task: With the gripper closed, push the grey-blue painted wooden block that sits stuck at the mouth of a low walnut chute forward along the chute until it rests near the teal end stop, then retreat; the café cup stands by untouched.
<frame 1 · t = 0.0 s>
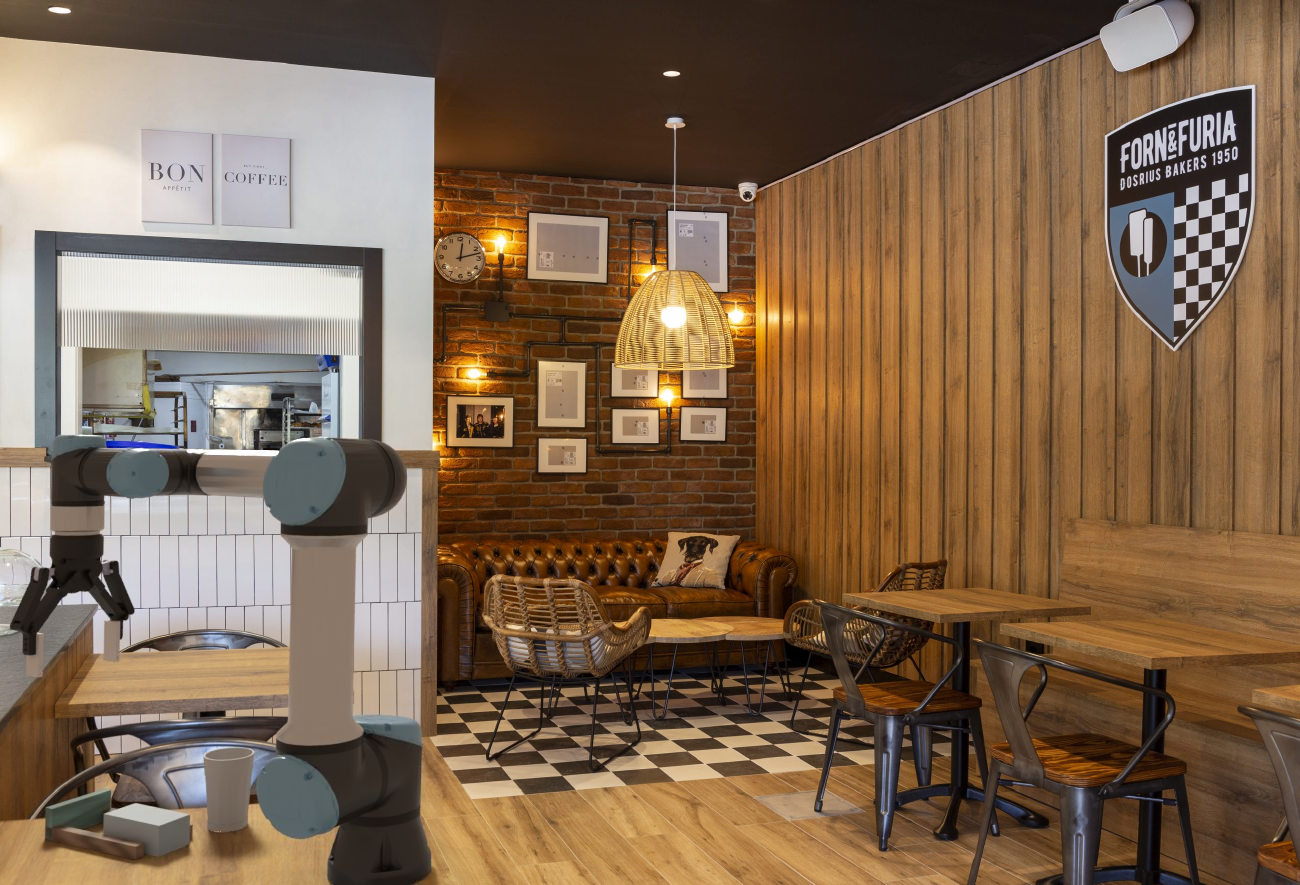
hand: (74, 668, 171), 28 cm above the table, fingers open, 13 cm apart
chute: (119, 838, 175), on the table
block: (146, 845, 173), on the table
cup: (227, 827, 182), on the table
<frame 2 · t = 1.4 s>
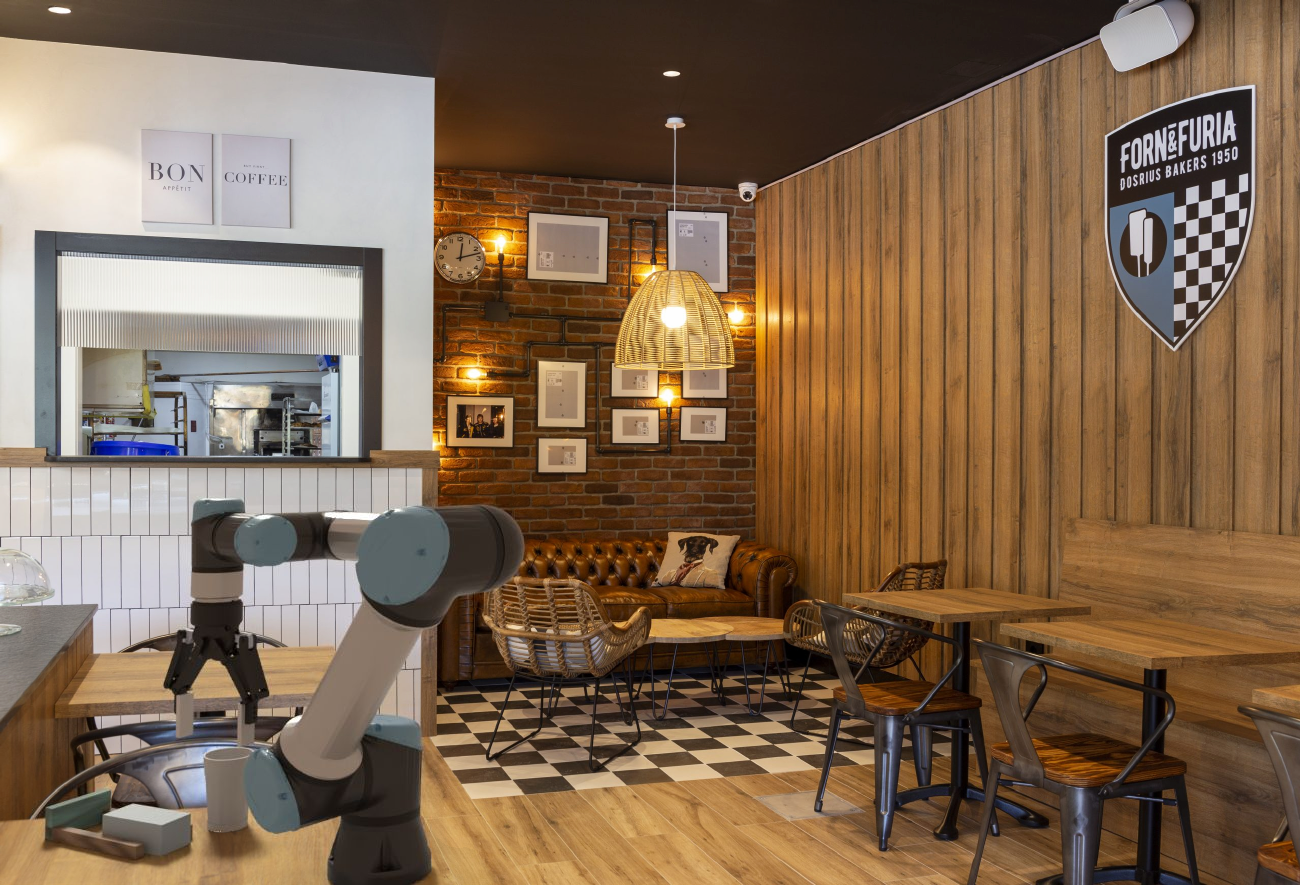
hand: (214, 740, 167), 18 cm above the table, fingers open, 12 cm apart
nothing on the table moved.
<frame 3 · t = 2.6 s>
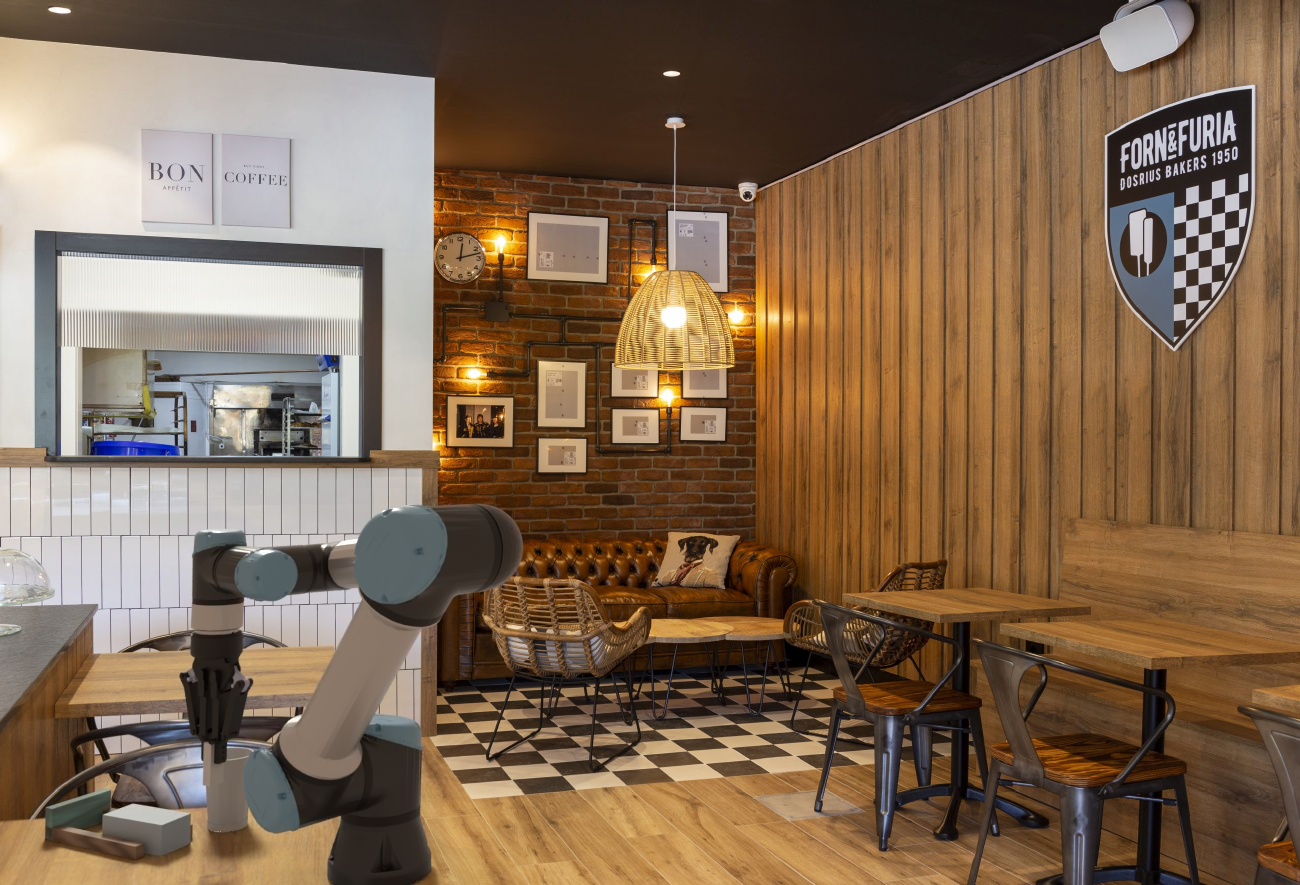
hand: (213, 783, 168), 11 cm above the table, fingers closed
nothing on the table moved.
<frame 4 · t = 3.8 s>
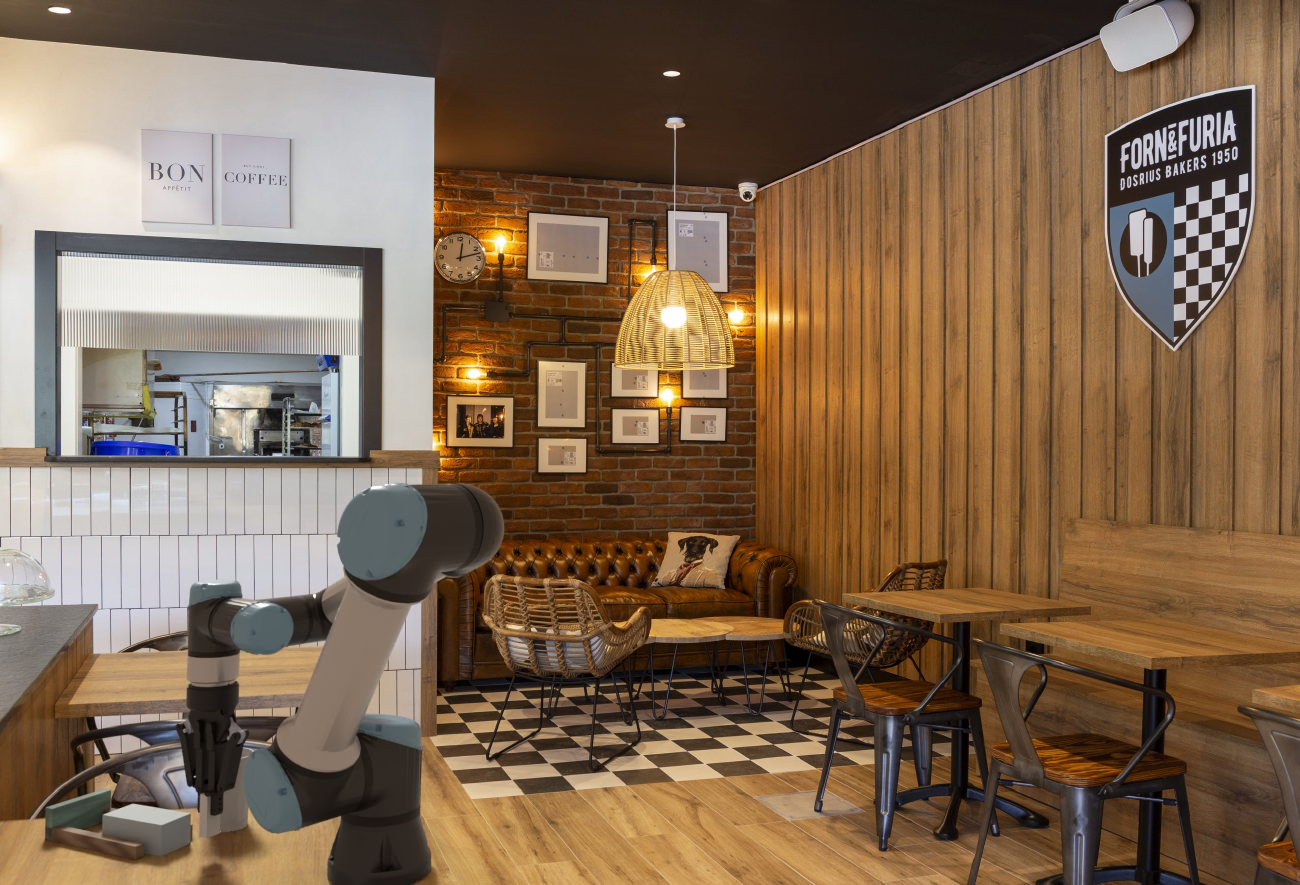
hand: (209, 834, 168), 4 cm above the table, fingers closed
nothing on the table moved.
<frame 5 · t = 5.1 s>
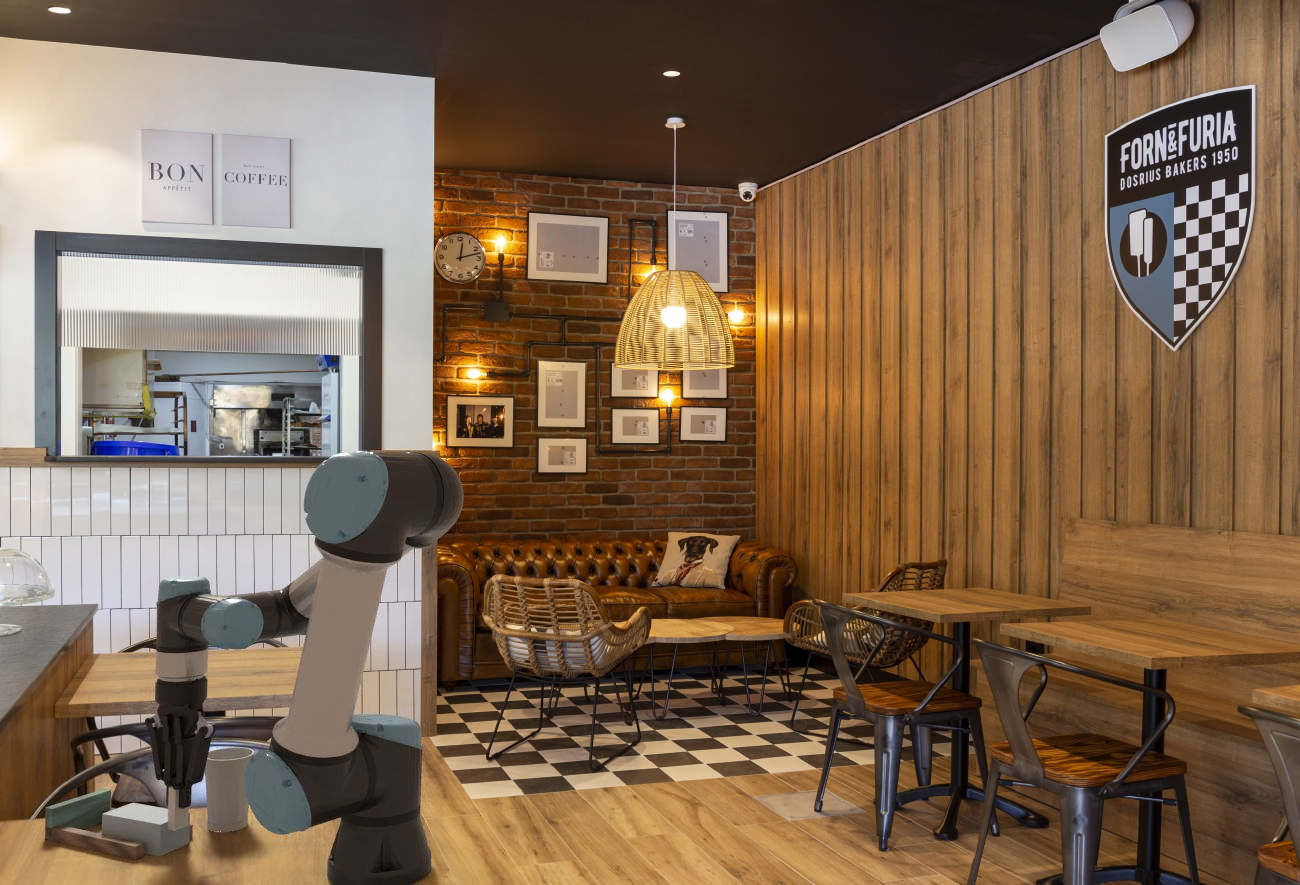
hand: (177, 827, 170), 4 cm above the table, fingers closed
block: (145, 845, 173), on the table, touching gripper
everything else where it was.
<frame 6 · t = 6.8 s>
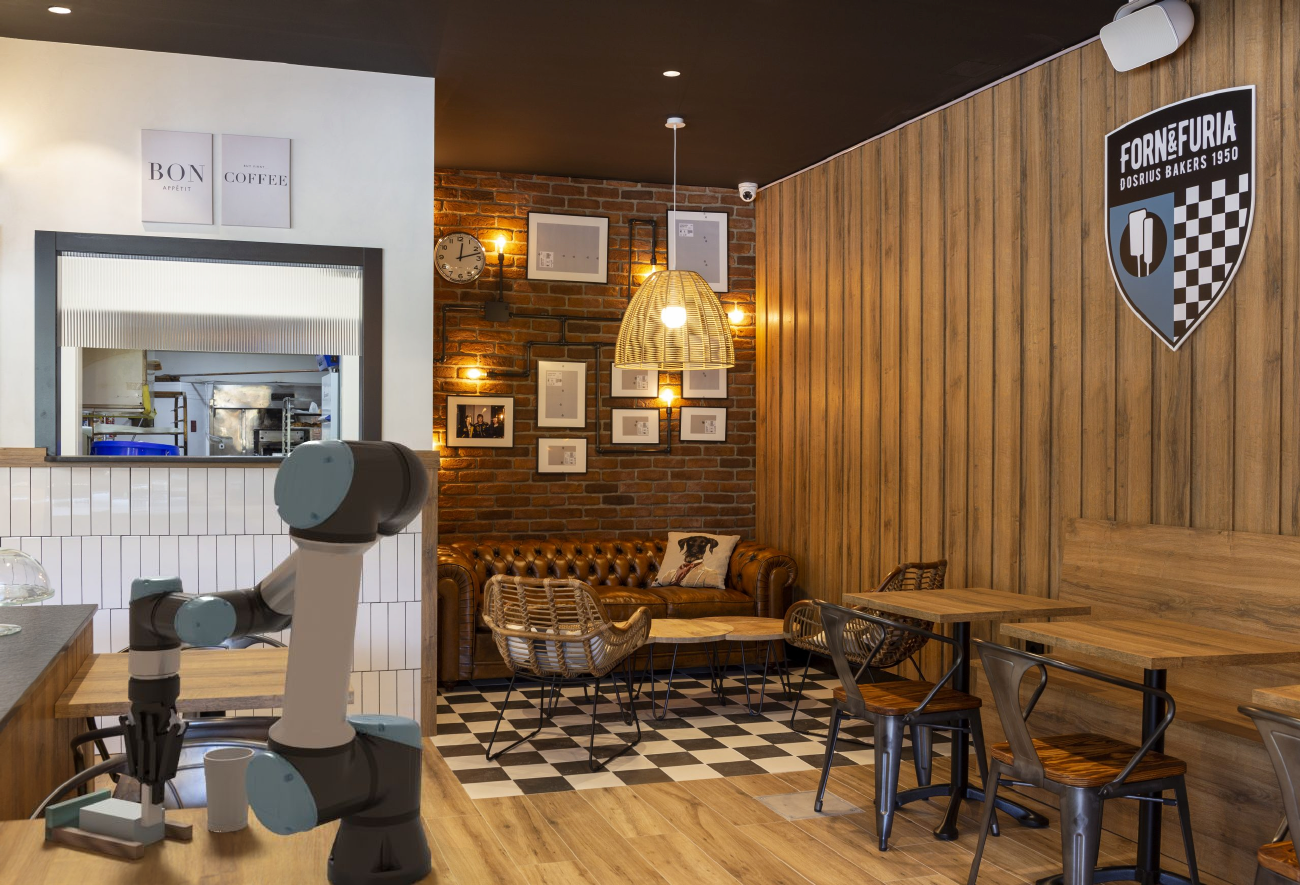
hand: (151, 823, 172), 3 cm above the table, fingers closed
block: (121, 839, 175), on the table
everything else where it was.
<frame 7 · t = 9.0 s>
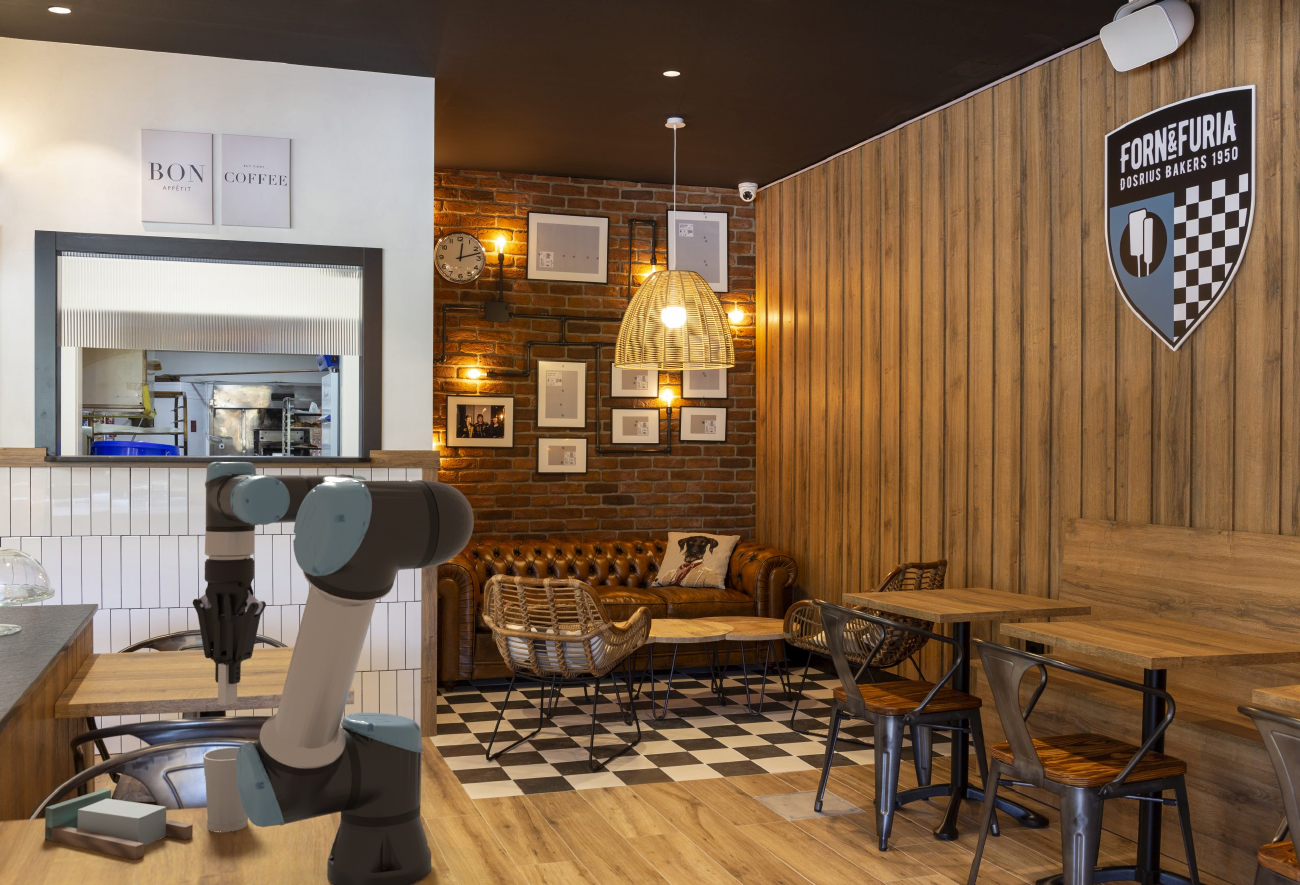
hand: (227, 703, 176), 22 cm above the table, fingers closed
nothing on the table moved.
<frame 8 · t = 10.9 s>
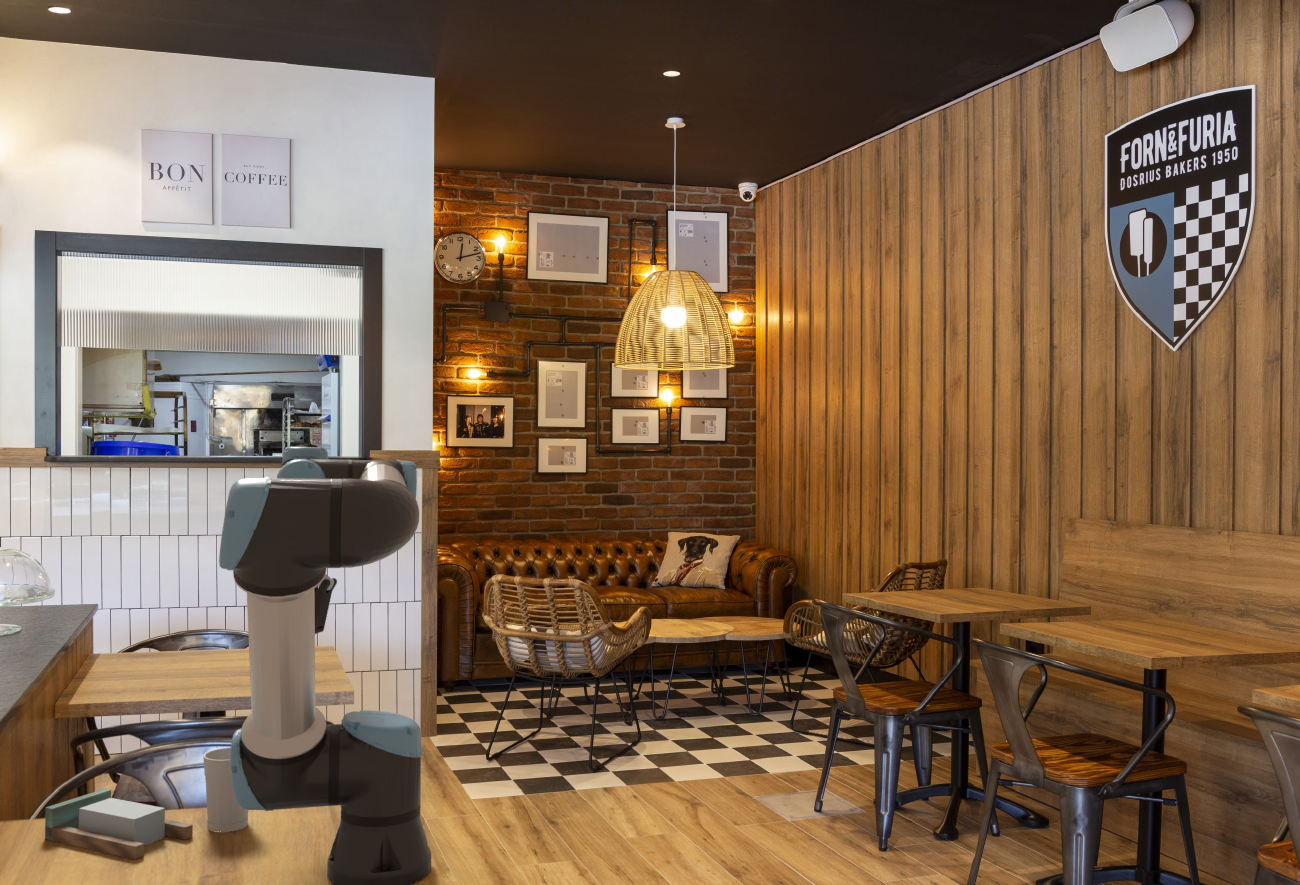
hand: (301, 673, 187), 24 cm above the table, fingers closed
nothing on the table moved.
at the end: block inside the target area (2.7 cm from its centre), on the table; block tilted 0°; block moved 5.8 cm from its start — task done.
